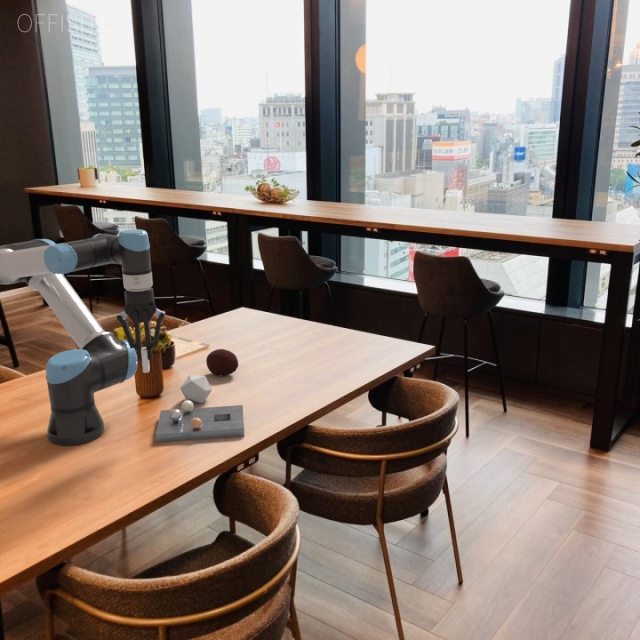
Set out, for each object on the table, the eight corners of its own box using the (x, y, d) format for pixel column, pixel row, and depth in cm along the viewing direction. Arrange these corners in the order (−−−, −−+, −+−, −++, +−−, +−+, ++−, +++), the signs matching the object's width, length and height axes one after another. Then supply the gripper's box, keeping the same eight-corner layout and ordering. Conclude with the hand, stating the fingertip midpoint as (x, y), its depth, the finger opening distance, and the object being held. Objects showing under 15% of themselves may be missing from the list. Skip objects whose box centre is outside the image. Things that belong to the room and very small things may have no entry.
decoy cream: (181, 414, 201) (180, 403, 200) (182, 409, 205) (181, 398, 204) (193, 413, 202) (192, 402, 201) (194, 408, 205) (193, 398, 204)
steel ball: (169, 423, 195) (168, 412, 194) (170, 418, 198) (169, 407, 197) (181, 422, 196) (181, 411, 195) (182, 417, 199) (181, 407, 198)
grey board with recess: (156, 442, 190) (155, 434, 189) (161, 418, 205) (160, 410, 204) (244, 436, 192) (244, 428, 192) (242, 412, 208) (242, 405, 207)
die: (217, 399, 220) (204, 370, 222) (213, 396, 211) (200, 366, 213) (192, 410, 219) (179, 382, 221) (187, 408, 210) (174, 378, 212)
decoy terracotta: (191, 430, 191) (190, 420, 190) (191, 426, 194) (190, 416, 193) (202, 430, 191) (201, 420, 190) (202, 425, 194) (201, 415, 193)
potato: (215, 368, 244) (213, 343, 241) (244, 373, 239) (243, 347, 237) (201, 377, 236) (199, 351, 234) (231, 382, 232) (229, 355, 229)
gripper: (111, 292, 181) (120, 377, 187) (162, 290, 182) (169, 374, 189) (115, 286, 188) (124, 367, 194) (164, 283, 189) (171, 364, 196)
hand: (146, 370), depth 192 cm, fingers closed
